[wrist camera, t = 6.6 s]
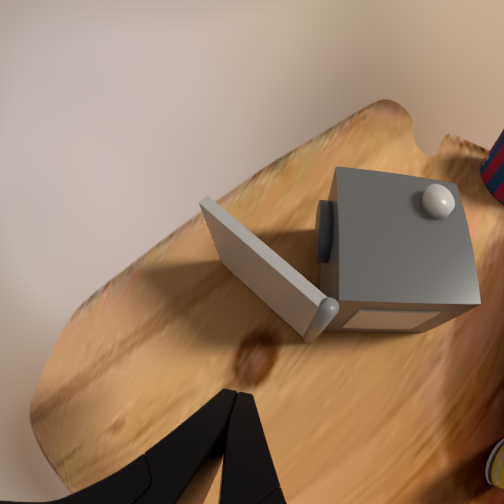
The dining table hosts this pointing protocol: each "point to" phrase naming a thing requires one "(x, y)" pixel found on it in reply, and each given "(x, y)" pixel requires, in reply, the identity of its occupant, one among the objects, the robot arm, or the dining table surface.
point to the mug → (495, 169)
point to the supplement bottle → (496, 466)
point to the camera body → (394, 252)
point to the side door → (269, 274)
